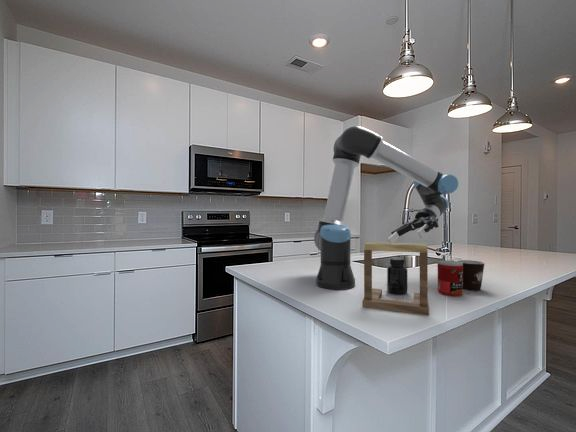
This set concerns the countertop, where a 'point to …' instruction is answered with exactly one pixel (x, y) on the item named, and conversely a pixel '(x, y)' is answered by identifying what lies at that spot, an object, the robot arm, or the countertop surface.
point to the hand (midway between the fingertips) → (403, 238)
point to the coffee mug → (472, 274)
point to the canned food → (450, 278)
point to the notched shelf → (374, 295)
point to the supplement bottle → (397, 277)
